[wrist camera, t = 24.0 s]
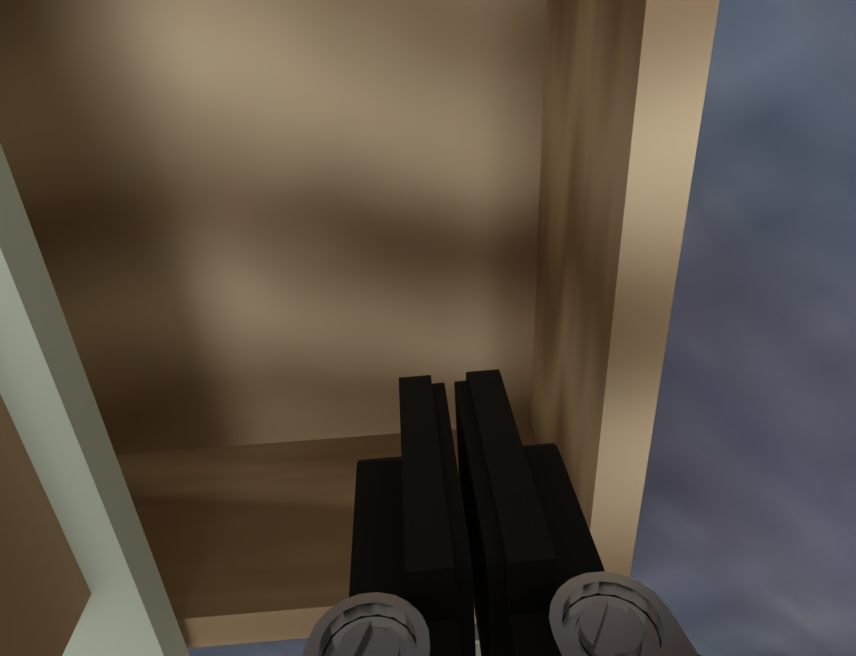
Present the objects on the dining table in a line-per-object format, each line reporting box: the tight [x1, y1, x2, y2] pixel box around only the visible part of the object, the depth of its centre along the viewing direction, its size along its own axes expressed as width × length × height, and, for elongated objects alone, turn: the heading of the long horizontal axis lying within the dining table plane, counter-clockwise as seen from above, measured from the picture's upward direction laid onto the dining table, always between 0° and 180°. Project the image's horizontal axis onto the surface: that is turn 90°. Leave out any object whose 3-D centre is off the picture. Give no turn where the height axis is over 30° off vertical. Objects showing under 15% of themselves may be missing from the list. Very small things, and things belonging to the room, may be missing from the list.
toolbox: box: [0, 0, 720, 648], centre depth 16 cm, size 18×18×8 cm
